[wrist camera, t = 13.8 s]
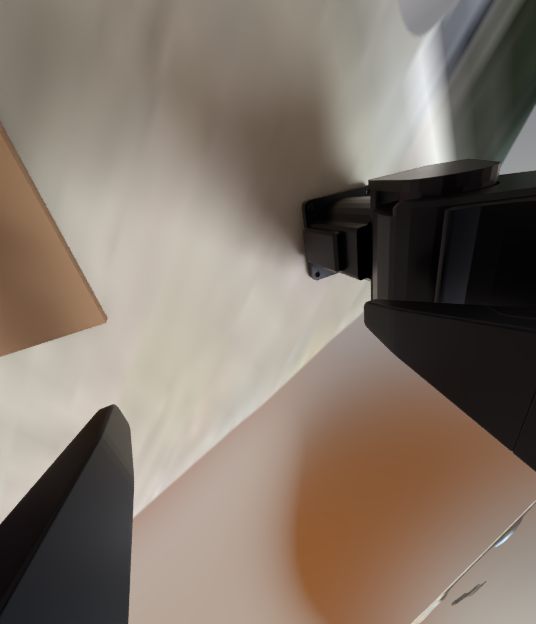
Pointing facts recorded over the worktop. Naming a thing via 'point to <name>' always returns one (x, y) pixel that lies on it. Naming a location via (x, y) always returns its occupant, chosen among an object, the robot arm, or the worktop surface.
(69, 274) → the can holder
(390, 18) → the worktop surface
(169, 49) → the worktop surface
